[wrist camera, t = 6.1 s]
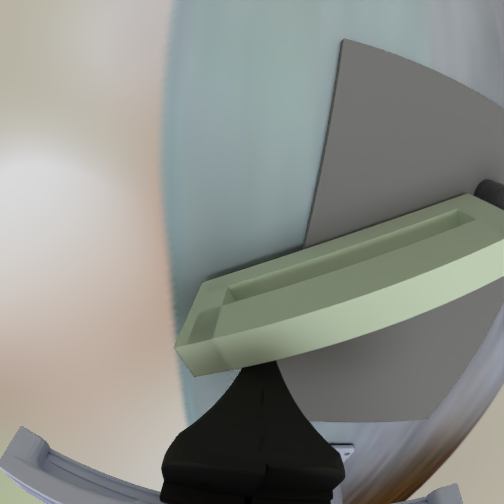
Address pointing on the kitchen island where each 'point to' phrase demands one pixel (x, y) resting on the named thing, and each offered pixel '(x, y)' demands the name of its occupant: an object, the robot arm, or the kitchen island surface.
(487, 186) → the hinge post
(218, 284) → the pale green slotted bar
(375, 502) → the kitchen island surface
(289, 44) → the kitchen island surface
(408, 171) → the mat
